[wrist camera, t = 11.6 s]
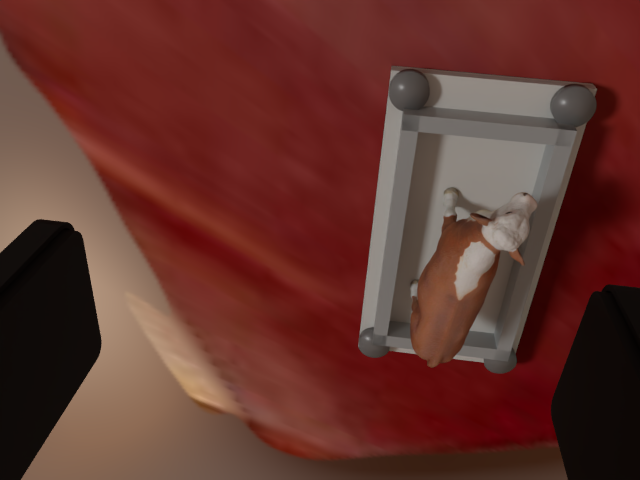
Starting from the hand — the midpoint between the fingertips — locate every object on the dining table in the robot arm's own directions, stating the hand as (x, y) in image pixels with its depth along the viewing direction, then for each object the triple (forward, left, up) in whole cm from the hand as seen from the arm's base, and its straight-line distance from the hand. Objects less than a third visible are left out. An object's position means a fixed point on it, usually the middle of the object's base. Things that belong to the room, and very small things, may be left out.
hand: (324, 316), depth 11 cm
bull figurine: (+14, +7, -28) cm, 31 cm away
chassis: (+14, +7, -28) cm, 32 cm away
